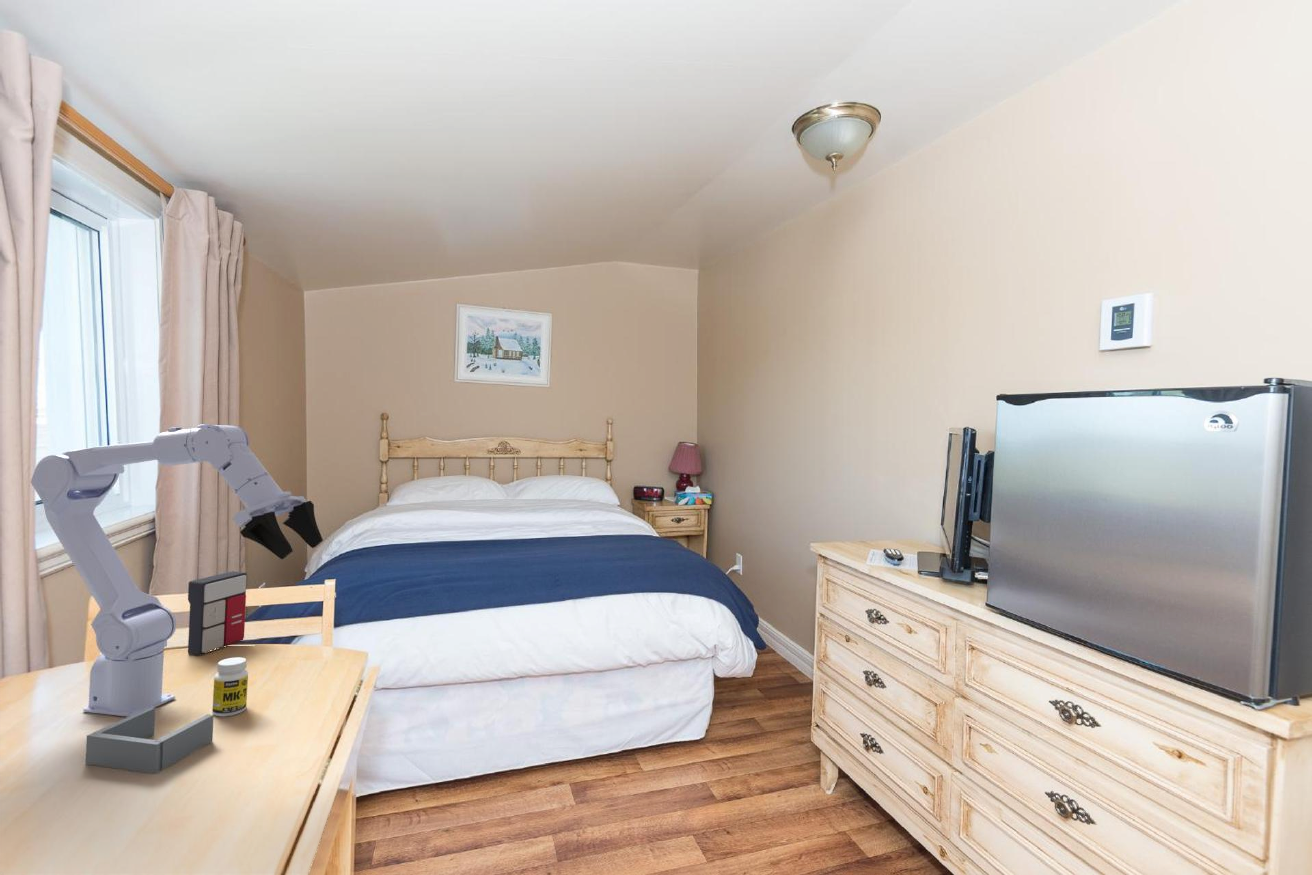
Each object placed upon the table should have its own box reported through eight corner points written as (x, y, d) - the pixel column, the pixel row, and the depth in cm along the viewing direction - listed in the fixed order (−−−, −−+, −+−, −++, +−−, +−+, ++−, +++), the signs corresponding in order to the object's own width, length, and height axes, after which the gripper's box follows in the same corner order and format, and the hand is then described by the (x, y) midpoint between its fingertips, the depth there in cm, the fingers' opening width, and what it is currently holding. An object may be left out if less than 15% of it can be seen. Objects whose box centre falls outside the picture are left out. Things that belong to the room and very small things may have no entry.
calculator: (202, 656, 130) (205, 583, 130) (184, 654, 131) (188, 581, 131) (246, 640, 141) (249, 572, 141) (230, 638, 142) (233, 570, 142)
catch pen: (85, 764, 89) (86, 735, 89) (148, 733, 98) (149, 707, 98) (155, 773, 87) (156, 744, 87) (212, 741, 97) (213, 714, 97)
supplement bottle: (220, 720, 104) (223, 668, 104) (206, 712, 106) (209, 661, 106) (252, 710, 108) (254, 660, 108) (238, 702, 110) (240, 654, 110)
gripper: (236, 476, 99) (290, 545, 98) (299, 465, 113) (346, 526, 113) (205, 503, 100) (258, 572, 99) (271, 490, 114) (318, 550, 114)
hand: (303, 549), depth 106 cm, fingers open, 7 cm apart
